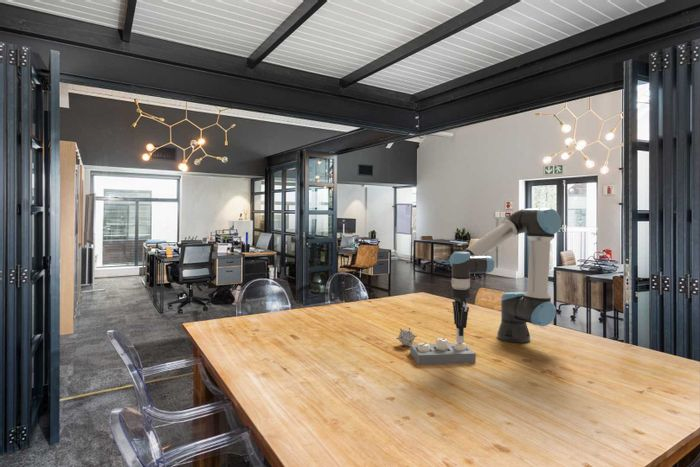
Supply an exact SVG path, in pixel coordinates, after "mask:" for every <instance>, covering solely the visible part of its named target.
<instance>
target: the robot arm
mask: <svg viewBox="0 0 700 467" xmlns="http://www.w3.org/2000/svg"><path fill="white" fill-rule="evenodd" d="M559 214H560V213H558V212H557V211H556V210H555V209H553V208H550V207H537V208H536V207H535V208H532V207H531V208H530V207H529V208H522V209H519V210H517V211H515V212H513V213H511V214H510V215H508V216H507V217H505V218H504V219H503V220H501V222H500V224H499V225H498V226H496V227H495V228H493V229H492V230H491V231H489V232H488V233H487V234H485V235H483V236H482V237H481V238H479V239H478V240H477V241H475V242H474V243H473V244H470V245H469V246H468V247H466V248H465V249H464V250H462V251H453V253H452V254H451V255H450V257H449V265H450V266H451V280H450V282H451V287H452V288H451V297H452V298H454V301H452V302H451V303H452V310H453V321H454V322H453V324H454V325H455V329H456V330H455V331H456V334H455V335H456V337H455V338H456V339H455V342H457V343H465V342H464V341H465V340H464V338H465V334H464V332H465V329H466V328H467V326H468V324H467V322H468V315H469V311H470V308H469V306H467V305H468V304H467V299H469V298H470V297H471V294H470V293H471V289H470V288H471V275H472V274H473V275H474V274H487V273H491V272H493V270H495V265H496V263H495V260H494V258H493V257H492V256H491V255H488V254H489V253H490V252H492V250H494V249H496V248H497V247H499V246H500V245H501V244H503V243H504V242H505V241H506V240H508V239H509V238H515V237H516V236H518V235H519V234H520V235H521V234H523V233H526V238H528V240H529V250H528V253H529V254H528V270H527V275H528V276H527V286H526V291H525V292H524V291H523V292H522V291H513V292H509V291H508V292H504V293H502V295H501V303H500V304H501V305H500V306H501V308H500V309H501V310H500V311H501V313H500V314H501V320H500V321H501V322H500V324H499V327H498V330H497V335H496V337H497V338H498V339H499V340H501V341H504V342H510V343H517V344H521V343H523V344H524V343H529V342H530V341H531V334H530V331H529V329H528V324H527V323H529V324H531V325H534V326H539V327H547V326H549V325H550V324H551V323H552V322H553V321H554V319H555V318H556V314H557V308H556V306H555V304H554V303H553V302H551V301H552V296H551V295H549V292H548V289H549V288H548V287H549V273H550V270H549V269H550V252H551V241H552V240H554V238H555V234H557V233H558V232H559V230H561V226H562V219H561V216H560V215H559Z"/></svg>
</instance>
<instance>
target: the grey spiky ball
mask: <svg viewBox="0 0 700 467" xmlns="http://www.w3.org/2000/svg"><path fill="white" fill-rule="evenodd" d="M417 336H418V335H415V334H414V333H413V332H412V331H411V328H410V327H409V328H408V329H407V328H406V329H402V328H400V332H399V334H398V337H396V340H398V341H399V342H400V343H401V345H402V348H404V346H410V345H413V343H414V340H415V338H417Z"/></svg>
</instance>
